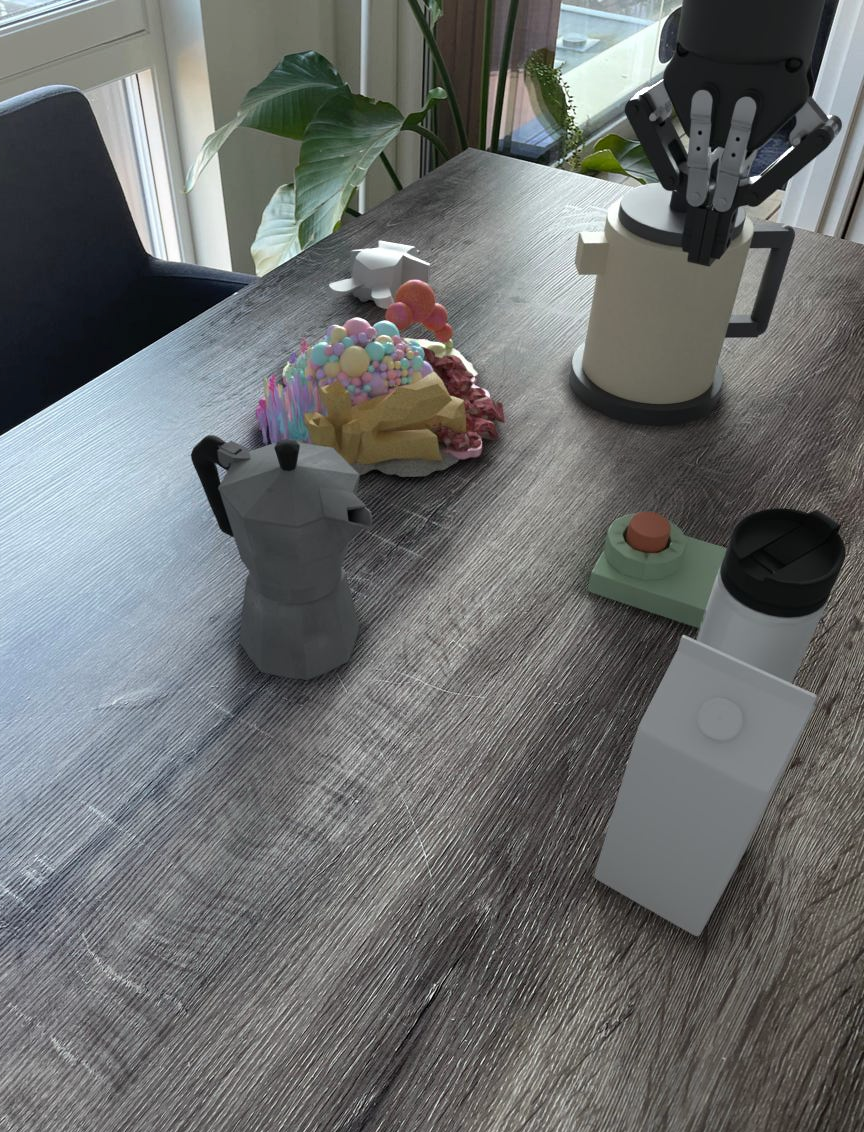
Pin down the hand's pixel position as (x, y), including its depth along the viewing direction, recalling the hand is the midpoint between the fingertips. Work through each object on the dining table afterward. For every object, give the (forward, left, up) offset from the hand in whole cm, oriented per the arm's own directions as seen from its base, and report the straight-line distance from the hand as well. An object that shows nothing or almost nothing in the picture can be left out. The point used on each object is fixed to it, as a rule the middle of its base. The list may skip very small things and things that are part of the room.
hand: (702, 259), depth 67 cm
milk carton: (-11, +27, -26) cm, 40 cm away
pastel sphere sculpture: (+29, -10, -26) cm, 40 cm away
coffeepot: (+21, +20, -26) cm, 39 cm away
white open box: (+39, -31, -26) cm, 56 cm away
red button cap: (-1, +1, -22) cm, 23 cm away
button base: (-5, +1, -26) cm, 27 cm away
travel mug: (-11, +17, -26) cm, 33 cm away
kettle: (+6, -28, -26) cm, 38 cm away
